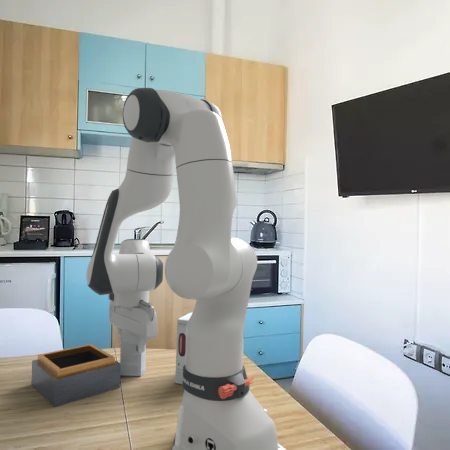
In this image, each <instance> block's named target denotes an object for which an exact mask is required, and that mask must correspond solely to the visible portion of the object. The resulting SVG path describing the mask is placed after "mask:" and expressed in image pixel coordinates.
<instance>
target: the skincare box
mask: <svg viewBox="0 0 450 450" xmlns="http://www.w3.org/2000/svg"><path fill="white" fill-rule="evenodd" d="M138 344H139V340H138V336H136V335H134V334H132V333H129V332H128V331H125V330H122V331H121V343H120V346H119V347H120V352H119V353H120V355H119V356H120V358H119V359H120V360H119V361H120V362H119V363H120V376H125V377H127V376H129V377H142V376H143V375H144V373H146V369H147V368H146V364H147V363H146V361H147V357H146V355H147V352H146V351H147V350H146V347H147V344H146V345H145V351H144V352H143V353H139V352H137V351H136V345H138Z"/></svg>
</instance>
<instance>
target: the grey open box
mask: <svg viewBox="0 0 450 450" xmlns="http://www.w3.org/2000/svg"><path fill="white" fill-rule="evenodd" d="M31 385H32V387H33V388H35V390H37V391H38V392H39V394H40V395H41V396H42V397H43V398H44V399H45V400H47V402H49V404H50V405H51V406H52V407H53V408H56V407H60V406H64V405H66V404H69V403H73V402H76V401H79V400H83V399H85V398H89V397H93V396H96V395H99V394H102V393H105V392H108V391H109V392H110V391H113V390H115V389H118V388H119V389H120V388H121V375H120V362H119V361H117V360H116V357H115V356H114V355H111V354H110V353H108V352H107V351H105V350H103V349H101V348H99V347H97V346H96V345H94V344H92V343H90V344H85V345H79V346H74V347H70V348H65V349H64V348H63V349H60V350H55V351H50V352H45V353H41V354H37V358H36V359H35V360H32V361H31Z"/></svg>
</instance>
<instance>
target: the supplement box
mask: <svg viewBox="0 0 450 450" xmlns="http://www.w3.org/2000/svg"><path fill="white" fill-rule="evenodd" d="M192 313H193V311H192V312H188V313H187V314H185V315H183V316H181V317H179V318H177V322H176V323H177V325H176V348H175V349H176V350H175V351H176V352H175V354H176V355H175V381H174V384H178V385H179V384H180V385H182V373H183V366H184V365H185V355H186V327H187V323H188V321H189V319H190V317H191V315H192Z"/></svg>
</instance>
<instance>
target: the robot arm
mask: <svg viewBox="0 0 450 450" xmlns="http://www.w3.org/2000/svg"><path fill="white" fill-rule="evenodd" d="M122 120H123V121H122V122H123V126H124V128H125V130H126V132H127V133H128V134H129V136H131V141H130V145H129V150H128V156H127V163H126V172H125V176H124V179H123V180H122V182H121V184H120V185H119V186H118V188H116V189H114V190H113V189H112V191H111V192H110V194H109V196H108V197H107V198H108V199H107V200H106V201H107V202H106V204H105V207H104V210H103V215H102V218H101V221H100V225H99V230H98V233H97V237H96V241H95V245H94V248H93V252H92V255H91V258H90V260H89V263H88V265H87V268H86V274H85V275H86V278H85V279H86V283H87V287H88V288H89V289H90V290H92V291H93V292H94V293H95V294H97V295H99V296H104V295H105V296H106V295H107V297H108V300H109V303H108V321H109V323H110V324H111V325H113V326H114V327H115V328H116V333H117V335H118V343H120V344H121V331H122V330H125V331H128V332H129V333H132V334H134V335H136V336H138V340H139V344H138V345H136V351H137V352H139V353H143V352H144V351H145V345H146V346H147V343H148V341H149V340H152V339H155V338H156V337H157V335H158V316H157V312H156V309H155V308H154V306H153V304H152V303H151V302H150V291H155V290H156V289H157V288H158V287H159V286H160V285H161V284H162V283H163V282H164V281H163V279H164V278H163V277H164V276H165V280H166V283H167V285H168V286H169V288H170V290H171V291H172V292H173V293H174V294H175V295H177V296H178V297H179V298H182V299H186V300H194V301H195V300H196V301H195V304H194V308H193V310H192V312H193V313H192V315H191V317H190V319H189V321H188V323H187V327H186V355H185V365H184V366H183V373H182V384H181V385H182V388H183V393H182V398H181V402H180V405H179V409H178V415H177V425H176V430H175V431H176V432H175V433H176V434H175V438H174V444H173V446H172V447H171V450H287V448H285V447H284V446H282V444H280V443H279V441H278V431H277V426H276V424H275V421H274V420H273V419H272V417H270V415H269V412H268V410H267V409H266V408H264V407H263V406H262V405H261V404H260V403H259V401H258V400H257V398H256V397H255V396H254V394H253V393H252V392H251V390H250V389H251V388H250V385H252V384H254V381H252V380H254V376H252V377H248V375H247V371H246V368H245V366H244V362H243V361H244V337H245V336H244V332H245V331H244V330H245V322H246V315H247V311H248V305H249V300H250V295H251V290H252V283H253V279H254V276H255V273H256V271H257V268H258V255H257V254H256V252H255V250H254V248H253V246H251V245H250V244H249V243H248V242H247V241H244V240H243V239H241V238H238V237H236V236H232V225H233V215H234V212H235V209H236V207H237V203H238V197H237V191H236V190H237V189H236V183H235V175H234V166H233V159H232V152H231V148H230V142H229V139H228V135H227V132H226V129H225V125H224V122H223V116H222V113H221V111H220V108H219V107H218V106H216V105H215V104H214V103H212V102H210V101H208V100H206V99H203V98H202V99H199V98H196V97H193V96H189V95H186V94H182V93H181V92H176V91H171V90H162V89H155V88H152V87H140V88H139V87H137V88H135V89H132V90H131V92H129V94H128V95H127V97H126V98H125V101H124V103H123V108H122ZM175 169H176V170H175ZM175 171H176V180H177V190H178V201H179V217H178V226H177V232H176V237H175V241H174V245H173V248H172V249H171V250H170V252H169V254H168V255H167V256H166V259H165V263H164V262H163V261H162V259H160V258H159V257H158V256H157V255H156V254H153V253H152V252H151V248H150V242H149V241H148V240H146V239H143V238H142V239H141V238H128V239H123V240H122V241H121V242H120V247H119V250H118V253H114V252H113V251H114V247H115V243H116V241H117V237H118V233H119V230H120V226H121V224H122V223H124V221H125V220H127V219H128V218H130V217H132V216H134V215H136V214H139V213H142V212H145V211H148V210H152V209H154V208H156V207H158V206H160V205H161V204H163V203H164V202H165V201H166V200H167V199H168V198H169V196H170V194H171V192H172V189H173V183H174V175H175V174H174V173H175Z"/></svg>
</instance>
